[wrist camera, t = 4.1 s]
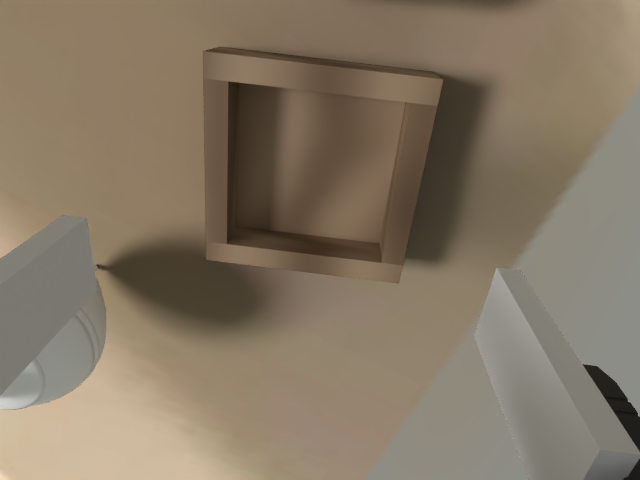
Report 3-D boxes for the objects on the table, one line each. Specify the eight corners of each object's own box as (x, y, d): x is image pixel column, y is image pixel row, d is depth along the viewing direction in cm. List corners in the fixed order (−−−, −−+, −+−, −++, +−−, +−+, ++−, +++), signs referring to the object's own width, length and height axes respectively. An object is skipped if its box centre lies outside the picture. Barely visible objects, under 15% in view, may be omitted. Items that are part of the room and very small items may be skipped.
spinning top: (168, 306, 31) (73, 458, 21) (69, 318, 32) (-70, 469, 22) (127, 206, 28) (-12, 325, 17) (18, 223, 29) (-176, 346, 18)
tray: (219, 236, 29) (206, 260, 26) (219, 46, 23) (202, 51, 21) (394, 258, 28) (398, 283, 26) (432, 71, 23) (443, 79, 21)
